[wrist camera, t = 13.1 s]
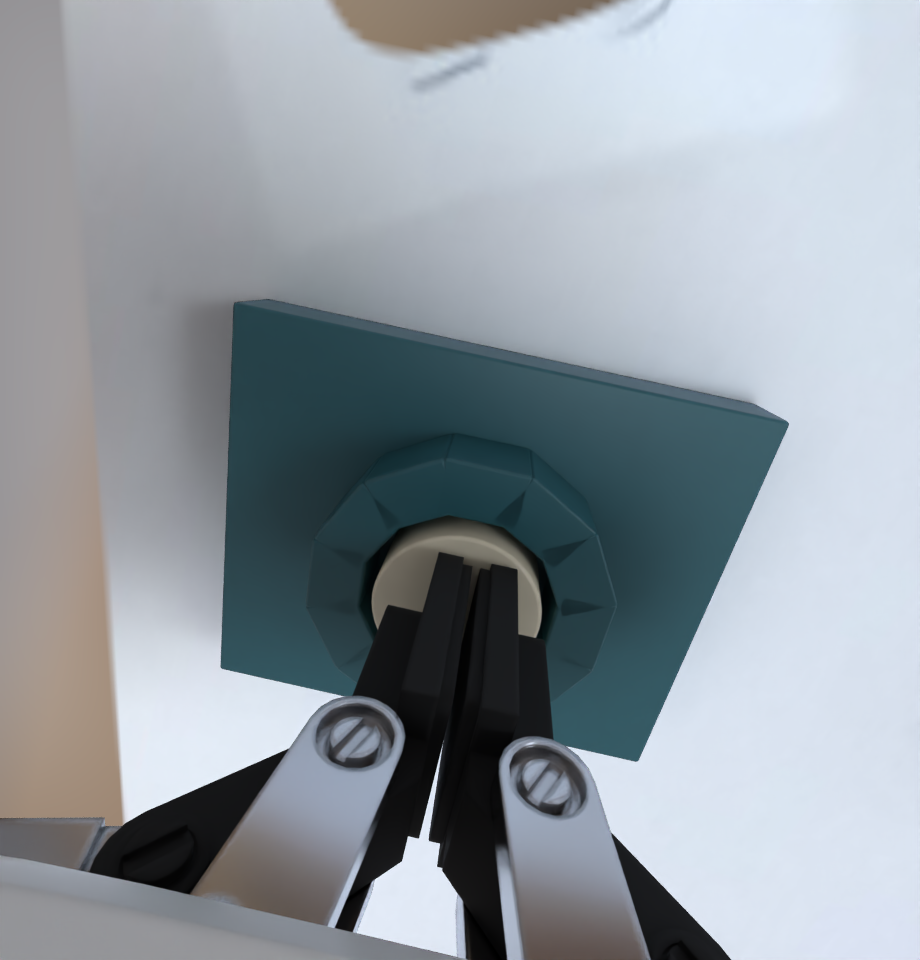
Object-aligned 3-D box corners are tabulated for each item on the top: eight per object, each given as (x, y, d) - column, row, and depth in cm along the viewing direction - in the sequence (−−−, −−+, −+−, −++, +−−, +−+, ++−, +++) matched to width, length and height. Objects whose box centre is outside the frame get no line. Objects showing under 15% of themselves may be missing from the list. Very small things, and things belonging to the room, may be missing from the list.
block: (247, 631, 16) (182, 719, 13) (266, 297, 13) (183, 306, 10) (626, 716, 16) (654, 826, 13) (756, 404, 13) (841, 448, 9)
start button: (378, 615, 13) (360, 661, 12) (400, 486, 12) (383, 519, 10) (518, 645, 13) (518, 697, 12) (555, 520, 12) (561, 558, 10)
